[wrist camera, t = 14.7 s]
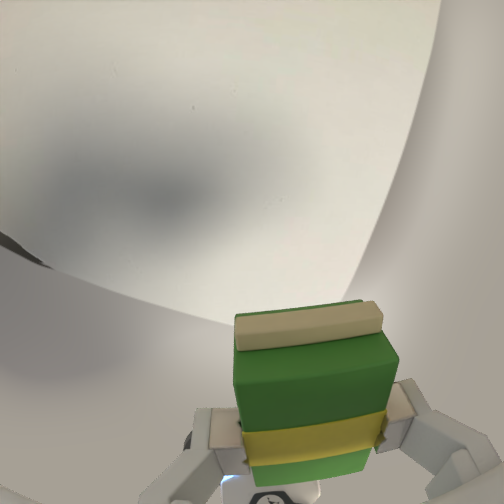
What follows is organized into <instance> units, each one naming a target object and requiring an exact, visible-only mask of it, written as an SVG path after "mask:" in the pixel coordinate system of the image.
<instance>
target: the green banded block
mask: <svg viewBox="0 0 504 504" xmlns="http://www.w3.org/2000/svg"><path fill="white" fill-rule="evenodd" d="M382 322H383V313H382V312H381V311H380V309H379V308H378V307H377V305H376V303H375V302H374V301H366V302H363V300H353V301H346V302H338V303H331V304H323V305H316V306H307V307H299V308H290V309H282V310H272V311H262V312H252V313H241V314H236V315H235V325H234V328H235V329H234V366H233V386H234V391H235V396H236V401H237V406H238V411H239V415H240V420H241V425H242V429H243V431H242V436H243V437H244V440H245V444H246V448H247V456H248V457H249V462H250V466H251V470H252V474H253V478H254V482H255V486H256V487H266V486H277V485H286V484H294V483H302V482H308V481H315V480H320V479H326V478H332V477H337V476H341V475H346V474H351V473H355V472H359V471H362V470H363V469H364V466H365V464H366V462H367V459H368V457H369V454H370V451H371V449H372V447H374V443H375V441H376V438H377V435H378V434H380V431H381V428H380V427H381V424H382V421H383V418H384V415H386V414H387V409H386V406H387V403H388V400H389V396H390V393H391V390H392V386H393V383H394V379H395V375H396V372H397V368H398V364H399V357H398V355H397V353H396V352H395V350H394V349H393V347H392V345H391V344H390V342H389V341H388V339H387V337H386V336H385V334H384V333H383V331H382V330H381V329H382Z"/></svg>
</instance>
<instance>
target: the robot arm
mask: <svg viewBox="0 0 504 504" xmlns="http://www.w3.org/2000/svg"><path fill="white" fill-rule="evenodd" d="M386 409H387V414H386V415H384V418H383V421H382V424H381V427H380V428H381V431H380V434H378V435H377V438H376V441H375V443H374V448H375V451H376V454H378V453H383V452H386V451H390V450H393V449H398V448H400V450H401V451H403V452H404V453H405V454H407V455H408V456H409V457H410V458H412V459H413V460H414V461H416V462H417V463H418V464H420V465H421V466H423V467H424V468H425V469H426V470H428V471H429V472H430V473H432V474H433V475H435V477H434V478H433V479H432V480H431V482H430V483H429V484H428V485H427V487H426V489H425V491H426V493H427V496H428V499H429V500H428V501H426V502H423V503H421V504H504V462H502V461H501V459H500V457H499V456H498V454H497V452H496V450H495V449H494V447H493V445H492V444H491V442H490V440H489V439H488V437H487V436H486V435H485V434H482V433H480V432H478V431H476V430H474V429H472V428H470V427H468V426H466V425H464V424H462V423H460V422H458V421H456V420H455V419H452V418H451V417H449V416H447V415H445V414H443V413H441V412H439V411H437V410H433V411H432V410H431V408H430V407H429V405H428V403H427V401H426V400H425V398H424V396H423V394H422V393H421V391H420V390H419V388H418V386H417V385H416V383H415V381H414V380H413V379H412V378H410V379H406V380H402V381H398V382H394V383H393V386H392V390H391V393H390V396H389V400H388V403H387V406H386ZM242 431H243V429H242V425H241V420H240V415H239V411H238V407H234V408H197V409H196V411H195V415H194V423H193V430H192V438H191V446H190V449H185V450H184V451H183V452H182V453H181V455H180V456H179V457H178V458H177V459H176V460H175V461H174V462H173V463H172V464H171V465H170V466H169V467H168V468H167V469H166V470H165V471H164V472H163V473H162V474H161V475H160V476H159V477H158V478H157V479H156V480H155V481H153V482H152V483H151V484H150V485H149V486H148V487H147V488H146V489H145V490H144V491H143V492H142V493H141V494H140V496H139V501H138V504H205V503H206V502H207V501H208V499H209V498H210V497H211V495H212V494H213V492H214V491H215V490H216V488H217V487H218V486H219V484H220V483H221V503H222V504H313V503H314V502H315V501H316V500H317V499H318V497H319V496H320V494H321V491H320V484H319V480H315V481H308V482H302V483H294V484H286V485H277V486H266V487H256V486H255V482H254V478H253V474H252V470H251V466H250V462H249V457H248V456H247V448H246V444H245V440H244V437H243V436H242ZM0 504H42V503H39V502H37V501H34V500H32V499H30V498H27V497H25V496H23V495H21V494H19V493H17V492H14V491H12V490H10V489H8V488H6V487H4V486H2V485H1V484H0Z"/></svg>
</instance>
